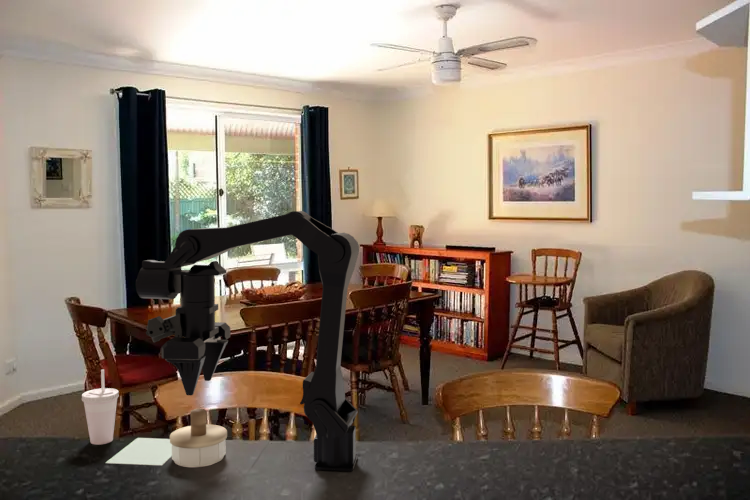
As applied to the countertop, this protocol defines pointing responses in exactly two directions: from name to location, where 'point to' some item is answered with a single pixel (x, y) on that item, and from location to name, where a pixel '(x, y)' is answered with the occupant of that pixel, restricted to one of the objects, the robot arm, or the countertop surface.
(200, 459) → the white octagonal pot
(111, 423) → the smoothie
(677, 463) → the countertop surface
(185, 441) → the lid
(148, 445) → the mat
